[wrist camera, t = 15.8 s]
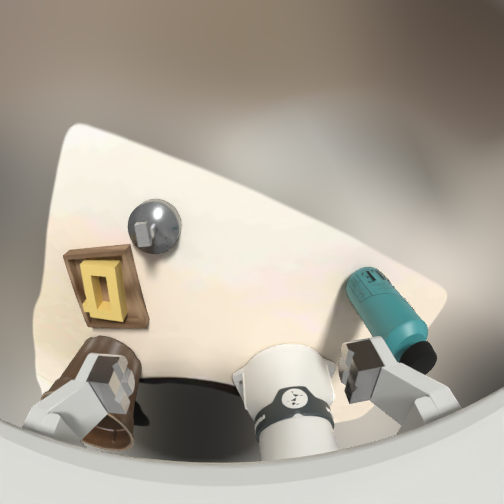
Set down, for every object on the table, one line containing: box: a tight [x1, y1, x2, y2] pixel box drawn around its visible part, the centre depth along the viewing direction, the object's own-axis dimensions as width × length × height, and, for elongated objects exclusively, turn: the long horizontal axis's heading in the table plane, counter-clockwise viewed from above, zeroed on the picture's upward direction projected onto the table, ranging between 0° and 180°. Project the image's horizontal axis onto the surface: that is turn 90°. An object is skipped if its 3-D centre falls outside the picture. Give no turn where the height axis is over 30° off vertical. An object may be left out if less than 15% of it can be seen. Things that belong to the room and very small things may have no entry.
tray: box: [63, 244, 149, 328], centre depth 40 cm, size 13×11×2 cm
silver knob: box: [128, 199, 182, 254], centre depth 35 cm, size 7×7×6 cm
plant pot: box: [41, 336, 141, 451], centre depth 40 cm, size 16×16×16 cm
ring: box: [80, 258, 128, 322], centre depth 39 cm, size 7×9×3 cm
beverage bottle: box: [346, 267, 437, 375], centre depth 33 cm, size 6×7×20 cm
